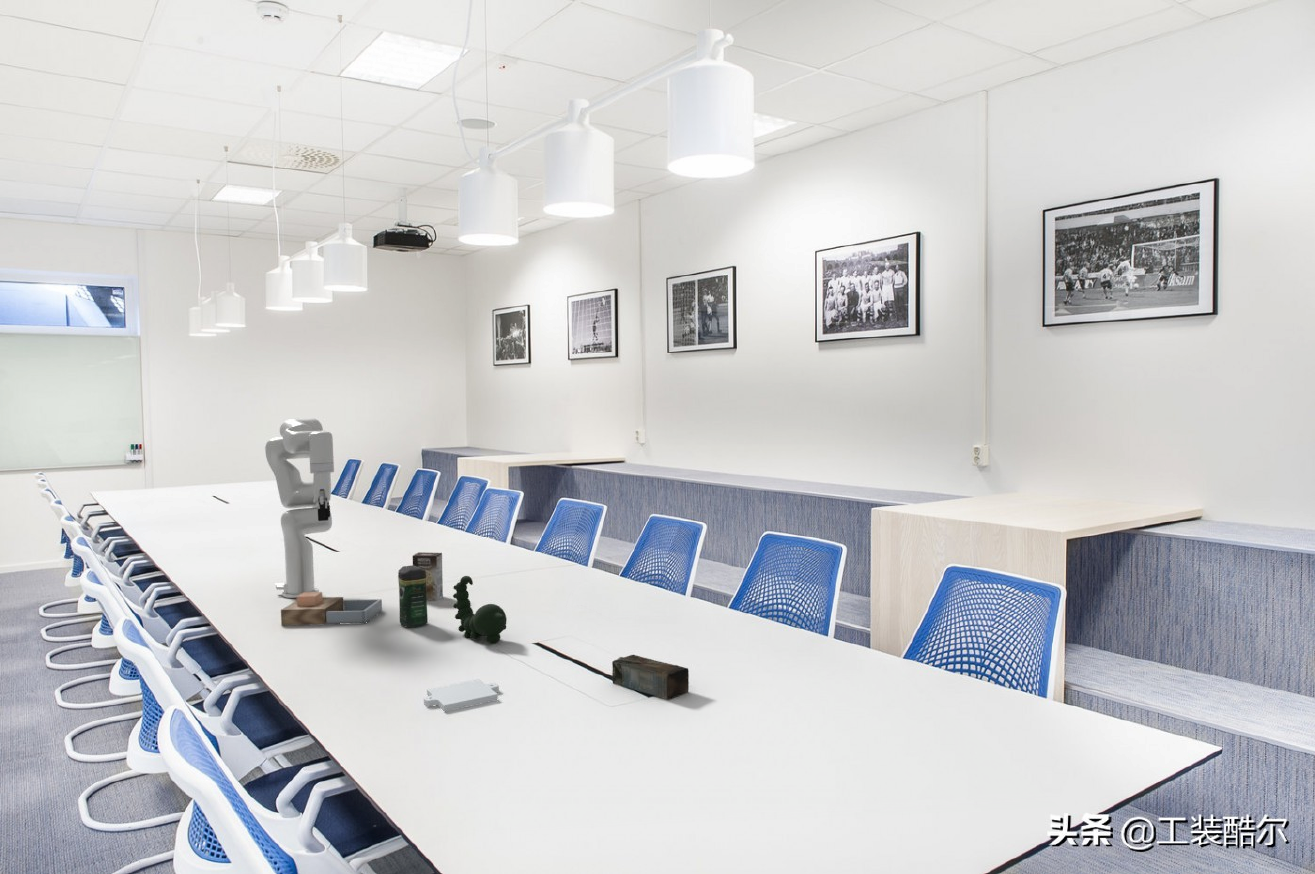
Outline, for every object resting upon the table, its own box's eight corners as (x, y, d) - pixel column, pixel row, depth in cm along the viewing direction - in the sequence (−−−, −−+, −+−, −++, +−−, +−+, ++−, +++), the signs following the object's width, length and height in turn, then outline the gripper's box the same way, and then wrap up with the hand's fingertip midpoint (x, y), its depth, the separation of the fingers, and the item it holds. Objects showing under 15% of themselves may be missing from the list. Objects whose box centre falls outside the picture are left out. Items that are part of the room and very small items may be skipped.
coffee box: (412, 600, 305) (411, 555, 304) (419, 596, 311) (417, 552, 311) (437, 600, 304) (436, 555, 303) (444, 596, 310) (442, 552, 310)
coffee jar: (431, 625, 271) (429, 567, 270) (406, 629, 267) (403, 570, 266) (421, 619, 279) (419, 562, 278) (397, 623, 275) (394, 565, 274)
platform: (281, 625, 275) (280, 609, 275) (302, 612, 291) (301, 597, 291) (325, 624, 275) (324, 608, 275) (343, 611, 291) (343, 596, 291)
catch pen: (325, 624, 275) (324, 611, 275) (343, 611, 291) (343, 599, 291) (365, 623, 275) (365, 611, 275) (382, 610, 291) (381, 599, 291)
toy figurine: (448, 639, 261) (492, 649, 242) (443, 577, 261) (486, 582, 243) (475, 633, 267) (520, 642, 249) (470, 572, 267) (515, 576, 249)
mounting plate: (488, 684, 216) (488, 676, 216) (507, 699, 205) (507, 691, 205) (416, 699, 206) (416, 691, 206) (433, 715, 195) (432, 707, 195)
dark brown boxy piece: (633, 676, 219) (633, 650, 219) (691, 693, 206) (690, 666, 206) (611, 684, 214) (610, 658, 213) (668, 702, 200) (668, 674, 200)
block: (296, 605, 280) (296, 596, 280) (304, 601, 286) (304, 592, 286) (315, 605, 280) (314, 596, 280) (322, 600, 286) (322, 591, 286)
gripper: (312, 467, 298) (314, 516, 298) (307, 470, 281) (310, 522, 282) (335, 466, 300) (337, 515, 301) (332, 469, 283) (334, 521, 284)
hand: (324, 518), depth 291 cm, fingers open, 9 cm apart
